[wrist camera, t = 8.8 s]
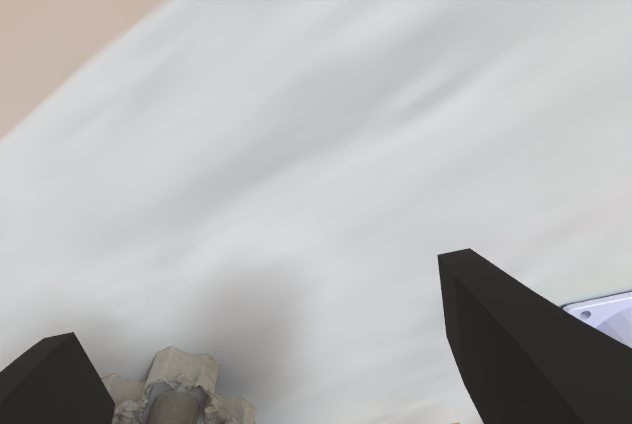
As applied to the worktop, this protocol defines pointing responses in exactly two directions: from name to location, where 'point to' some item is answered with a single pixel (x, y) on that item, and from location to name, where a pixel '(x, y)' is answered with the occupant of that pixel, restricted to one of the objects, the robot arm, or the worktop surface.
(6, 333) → the worktop surface
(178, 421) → the egg carton
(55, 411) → the robot arm
